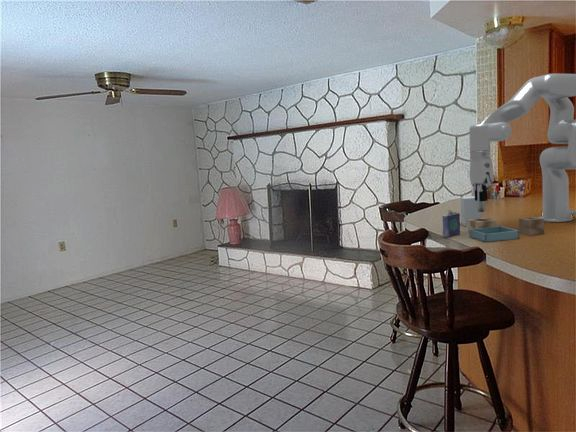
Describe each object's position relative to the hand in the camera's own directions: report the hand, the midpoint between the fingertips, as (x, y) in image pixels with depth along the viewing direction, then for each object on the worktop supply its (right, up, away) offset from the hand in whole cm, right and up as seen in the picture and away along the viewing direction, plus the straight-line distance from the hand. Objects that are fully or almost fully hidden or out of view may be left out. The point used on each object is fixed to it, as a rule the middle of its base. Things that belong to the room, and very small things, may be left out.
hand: (481, 200), depth 171 cm
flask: (-12, -15, 0) cm, 19 cm away
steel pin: (0, -5, +1) cm, 5 cm away
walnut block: (+15, -13, -9) cm, 22 cm away
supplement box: (+5, -11, +19) cm, 22 cm away
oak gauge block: (+1, -13, +2) cm, 13 cm away
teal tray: (0, -15, -10) cm, 18 cm away
